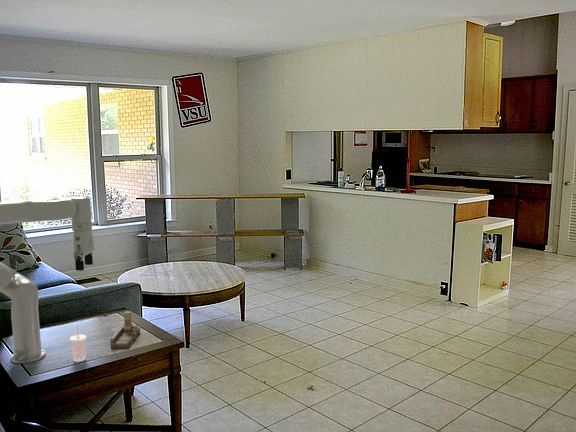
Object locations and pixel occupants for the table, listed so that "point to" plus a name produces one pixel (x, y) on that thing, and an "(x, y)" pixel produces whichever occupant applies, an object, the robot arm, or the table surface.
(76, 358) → the beverage cup
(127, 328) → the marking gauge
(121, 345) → the wooden slotted block
